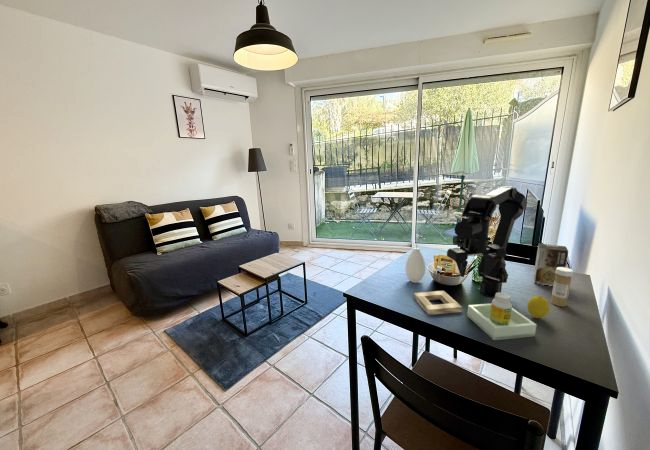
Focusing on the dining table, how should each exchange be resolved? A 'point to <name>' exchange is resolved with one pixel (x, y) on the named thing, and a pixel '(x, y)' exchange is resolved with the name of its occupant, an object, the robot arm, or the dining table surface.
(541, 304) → the lemon
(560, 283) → the sprinkles bottle
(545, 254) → the coffee box
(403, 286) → the dining table surface
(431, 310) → the socket block
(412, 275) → the sauce bottle
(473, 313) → the tray
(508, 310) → the supplement bottle
